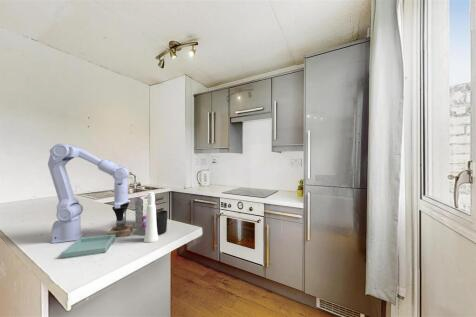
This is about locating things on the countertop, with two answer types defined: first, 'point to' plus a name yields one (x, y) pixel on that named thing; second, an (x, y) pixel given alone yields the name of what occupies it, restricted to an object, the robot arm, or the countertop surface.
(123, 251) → the countertop surface
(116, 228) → the socket block
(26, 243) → the countertop surface
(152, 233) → the cosmetic bottle
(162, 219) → the pen holder
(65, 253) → the tray
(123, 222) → the steel pin
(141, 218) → the candy bar box
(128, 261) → the countertop surface
